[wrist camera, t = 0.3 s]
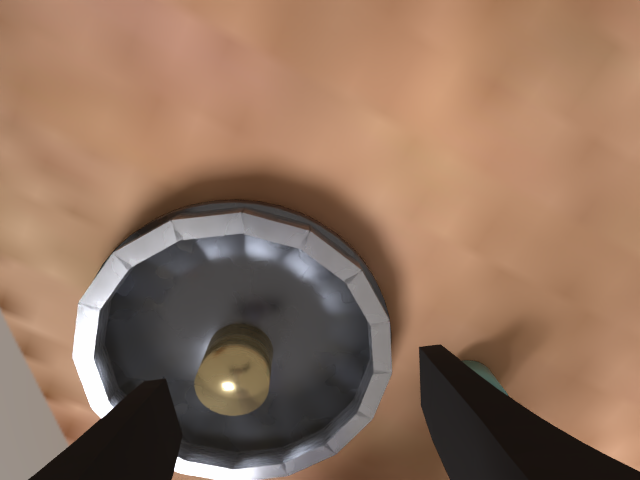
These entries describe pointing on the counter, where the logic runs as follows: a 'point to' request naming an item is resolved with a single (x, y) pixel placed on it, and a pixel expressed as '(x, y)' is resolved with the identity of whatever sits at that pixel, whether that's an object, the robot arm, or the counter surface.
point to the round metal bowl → (240, 336)
